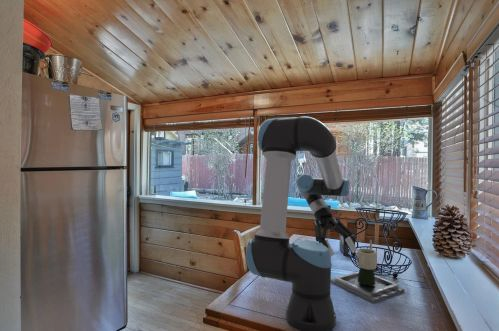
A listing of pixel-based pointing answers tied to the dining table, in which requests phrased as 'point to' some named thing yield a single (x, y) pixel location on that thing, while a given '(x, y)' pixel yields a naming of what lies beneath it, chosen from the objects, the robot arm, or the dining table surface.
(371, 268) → the character mug
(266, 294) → the dining table surface
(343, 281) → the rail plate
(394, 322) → the dining table surface
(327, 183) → the robot arm
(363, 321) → the dining table surface
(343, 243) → the small box
